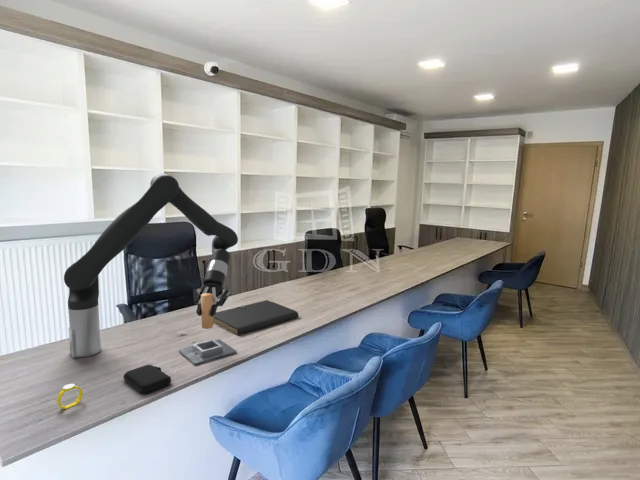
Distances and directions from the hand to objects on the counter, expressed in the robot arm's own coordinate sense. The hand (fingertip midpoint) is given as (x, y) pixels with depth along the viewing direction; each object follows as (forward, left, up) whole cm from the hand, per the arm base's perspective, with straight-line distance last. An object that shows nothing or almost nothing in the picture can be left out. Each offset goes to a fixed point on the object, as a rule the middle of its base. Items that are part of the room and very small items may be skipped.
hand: (205, 315), depth 136 cm
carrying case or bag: (-22, -7, -16) cm, 28 cm away
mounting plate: (+1, +1, -15) cm, 15 cm away
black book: (+33, +22, -16) cm, 43 cm away
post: (+1, +1, -5) cm, 5 cm away
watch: (-43, -8, -15) cm, 46 cm away
